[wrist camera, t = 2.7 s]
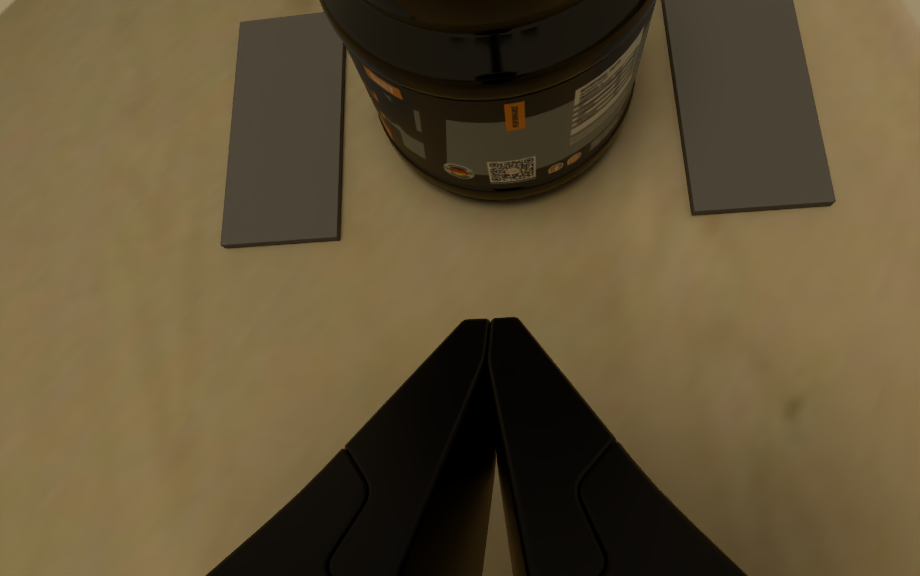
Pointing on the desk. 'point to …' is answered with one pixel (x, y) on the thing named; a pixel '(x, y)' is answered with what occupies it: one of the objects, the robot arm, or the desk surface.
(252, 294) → the desk surface
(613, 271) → the desk surface
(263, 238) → the pads
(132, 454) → the desk surface
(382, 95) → the supplement container
